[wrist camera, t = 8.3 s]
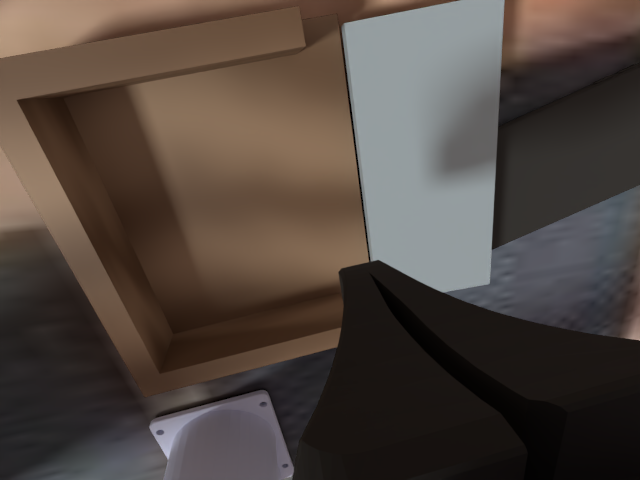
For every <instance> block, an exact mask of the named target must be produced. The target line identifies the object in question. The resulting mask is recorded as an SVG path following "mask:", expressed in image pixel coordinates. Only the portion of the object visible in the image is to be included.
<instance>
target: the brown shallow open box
mask: <svg viewBox="0 0 640 480" xmlns="http://www.w3.org/2000/svg"><path fill="white" fill-rule="evenodd" d="M0 146H1V148H2V150H3V151H4V153H5V155H6V157H7V158H8V160H9V162H10V164H11V165H12V167H13V169H14V171H15V172H16V174H17V176H18V178H19V179H20V181H21V183H22V185H23V186H24V188H25V190H26V192H27V193H28V195H29V197H30V198H31V200H32V202H33V204H34V205H35V207H36V209H37V211H38V212H39V214H40V216H41V218H42V219H43V221H44V223H45V225H46V226H47V228H48V230H49V232H50V233H51V235H52V237H53V239H54V240H55V242H56V244H57V246H58V247H59V249H60V251H61V253H62V254H63V256H64V258H65V260H66V261H67V263H68V265H69V267H70V268H71V270H72V272H73V274H74V275H75V277H76V279H77V281H78V282H79V284H80V286H81V288H82V289H83V291H84V293H85V294H86V296H87V298H88V300H89V301H90V303H91V305H92V307H93V308H94V310H95V312H96V314H97V315H98V317H99V319H100V321H101V322H102V324H103V326H104V328H105V329H106V331H107V333H108V335H109V336H110V338H111V340H112V342H113V343H114V345H115V347H116V349H117V350H118V352H119V354H120V356H121V357H122V359H123V361H124V363H125V364H126V366H127V368H128V370H129V371H130V373H131V375H132V377H133V378H134V380H135V382H136V383H137V385H138V387H139V389H140V390H141V392H142V394H143V396H144V397H148V396H152V395H156V394H160V393H163V392H167V391H171V390H175V389H179V388H182V387H186V386H190V385H194V384H198V383H202V382H205V381H209V380H213V379H217V378H221V377H225V376H228V375H232V374H236V373H240V372H244V371H247V370H251V369H255V368H259V367H263V366H267V365H270V364H274V363H278V362H282V361H286V360H290V359H293V358H297V357H301V356H305V355H309V354H312V353H316V352H320V351H324V350H328V349H332V348H335V347H338V342H339V338H340V332H341V326H342V317H343V307H344V305H343V299H342V292H341V286H340V280H339V274H338V272H339V271H340V270H341V268H345V267H350V266H354V265H358V264H363V263H367V262H369V258H368V250H367V242H366V235H365V227H364V219H363V211H362V203H361V195H360V188H359V180H358V172H357V164H356V156H355V148H354V141H353V133H352V125H351V117H350V109H349V102H348V94H347V86H346V78H345V70H344V62H343V55H342V47H341V39H340V31H339V23H338V15H337V14H332V15H326V16H321V17H315V18H310V19H304V20H301V14H300V8H299V6H296V7H290V8H284V9H279V10H273V11H267V12H262V13H256V14H250V15H244V16H239V17H233V18H227V19H222V20H216V21H210V22H205V23H199V24H193V25H187V26H182V27H176V28H170V29H165V30H159V31H153V32H147V33H142V34H136V35H130V36H125V37H119V38H113V39H107V40H102V41H96V42H90V43H85V44H79V45H73V46H68V47H62V48H56V49H50V50H45V51H39V52H33V53H28V54H22V55H16V56H10V57H5V58H0Z"/></svg>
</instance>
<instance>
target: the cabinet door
mask: <svg viewBox="0 0 640 480" xmlns="http://www.w3.org/2000/svg"><path fill="white" fill-rule="evenodd" d="M503 19H504V0H460V1H454V2H449V3H444V4H439V5H434V6H429V7H424V8H419V9H414V10H409V11H404V12H399V13H393V14H388V15H383V16H378V17H373V18H368V19H363V20H358V21H353V22H348V23H344V24H343V25H342V27H341V28H342V36H343V44H344V52H345V60H346V68H347V76H348V84H349V92H350V100H351V108H352V116H353V124H354V132H355V140H356V148H357V156H358V164H359V172H360V180H361V188H362V196H363V204H364V212H365V220H366V228H367V236H368V244H369V252H370V260H371V261H376V260H380V261H382V262H384V263H386V264H388V265H389V266H391V267H393V268H395V269H397V270H399V271H400V272H402V273H404V274H406V275H408V276H410V277H412V278H414V279H415V280H417V281H419V282H421V283H423V284H425V285H427V286H430V287H432V288H434V289H436V290H438V291H440V292H447V291H453V290H459V289H464V288H470V287H475V286H481V285H486V284H490V269H491V250H492V231H493V212H494V192H495V173H496V154H497V135H498V115H499V96H500V77H501V58H502V38H503Z"/></svg>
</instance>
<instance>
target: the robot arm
mask: <svg viewBox="0 0 640 480" xmlns="http://www.w3.org/2000/svg"><path fill="white" fill-rule="evenodd" d="M338 274H339V280H340V286H341V292H342V299H343V305H344V307H343V317H342V326H341V332H340V338H339V342H338V347H337V351H336V354H335V358H334V361H333V365H332V368H331V371H330V374H329V377H328V380H327V382H326V385H325V387H324V390H323V392H322V395H321V397H320V400H319V402H318V405H317V407H316V409H315V411H314V413H313V415H312V417H311V419H310V421H309V423H308V425H307V427H306V429H305V431H304V433H303V435H302V437H301V439H300V441H299V445H298V450H297V456H296V461H295V467H293V464H292V461H291V458H290V455H289V452H288V449H287V446H286V443H285V440H284V437H283V435H282V432H281V429H280V426H279V423H278V420H277V417H276V414H275V411H274V408H273V405H272V402H271V399H270V397H269V394H268V392H267V391H265V390H259V391H255V392H251V393H247V394H244V395H240V396H236V397H232V398H229V399H225V400H221V401H217V402H214V403H210V404H206V405H202V406H199V407H195V408H191V409H188V410H184V411H180V412H176V413H173V414H169V415H165V416H161V417H158V418H155V419H153V420H152V421H151V423H150V426H149V428H150V430H151V432H152V433H153V435H154V437H155V438H156V440H157V442H158V443H159V445H160V447H161V448H162V450H163V452H164V454H165V455H166V457H167V459H168V463H167V467H166V472H165V476H164V480H282V479H284V478H287V477H290V476H292V475H293V480H640V341H639V340H632V339H624V338H617V337H609V336H602V335H595V334H589V333H583V332H578V331H572V330H567V329H562V328H557V327H552V326H547V325H543V324H538V323H534V322H530V321H526V320H522V319H518V318H515V317H511V316H507V315H504V314H500V313H497V312H494V311H490V310H487V309H484V308H482V307H479V306H476V305H473V304H470V303H467V302H464V301H462V300H459V299H457V298H454V297H452V296H450V295H447V294H445V293H443V292H440V291H438V290H436V289H434V288H432V287H430V286H427V285H425V284H423V283H421V282H419V281H417V280H415V279H414V278H412V277H410V276H408V275H406V274H404V273H402V272H400V271H399V270H397V269H395V268H393V267H391V266H389V265H388V264H386V263H384V262H382V261H380V260H376V261H371V262H367V263H363V264H358V265H354V266H350V267H345V268H341V270H340V271H339V272H338ZM262 402H263V403H262Z"/></svg>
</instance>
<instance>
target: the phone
mask: <svg viewBox="0 0 640 480" xmlns="http://www.w3.org/2000/svg"><path fill="white" fill-rule="evenodd" d="M638 185H640V63H639V64H635V65H632V66H630V67H628V68H626V69H623V70H621V71H619V72H617V73H616V74H614V75H610V76H608V77H605V78H603V79H601V80H599V81H596V82H594V83H593V84H592V85H590V86H587V87H585V88H583V89H581V90H579V91H576V92H574V93H572V94H570V95H567V96H565V97H563V98H561V99H559V100H556V101H554V102H552V103H550V104H547V105H545V106H543V107H541V108H539V109H536V110H534V111H532V112H530V113H527V114H525V115H523V116H521V117H519V118H516V119H514V120H512V121H510V122H507V123H505V124H503V125H501V126H498V135H497V154H496V173H495V192H494V212H493V231H492V249H494V248H497V247H499V246H501V245H504V244H506V243H508V242H510V241H513V240H515V239H517V238H520V237H522V236H524V235H526V234H529V233H531V232H533V231H536V230H538V229H540V228H542V227H545V226H547V225H549V224H552V223H554V222H556V221H558V220H561V219H563V218H565V217H567V216H570V215H572V214H574V213H577V212H579V211H581V210H583V209H586V208H588V207H590V206H593V205H595V204H597V203H599V202H602V201H604V200H606V199H609V198H611V197H613V196H615V195H618V194H620V193H622V192H624V191H627V190H629V189H631V188H634V187H636V186H638Z"/></svg>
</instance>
